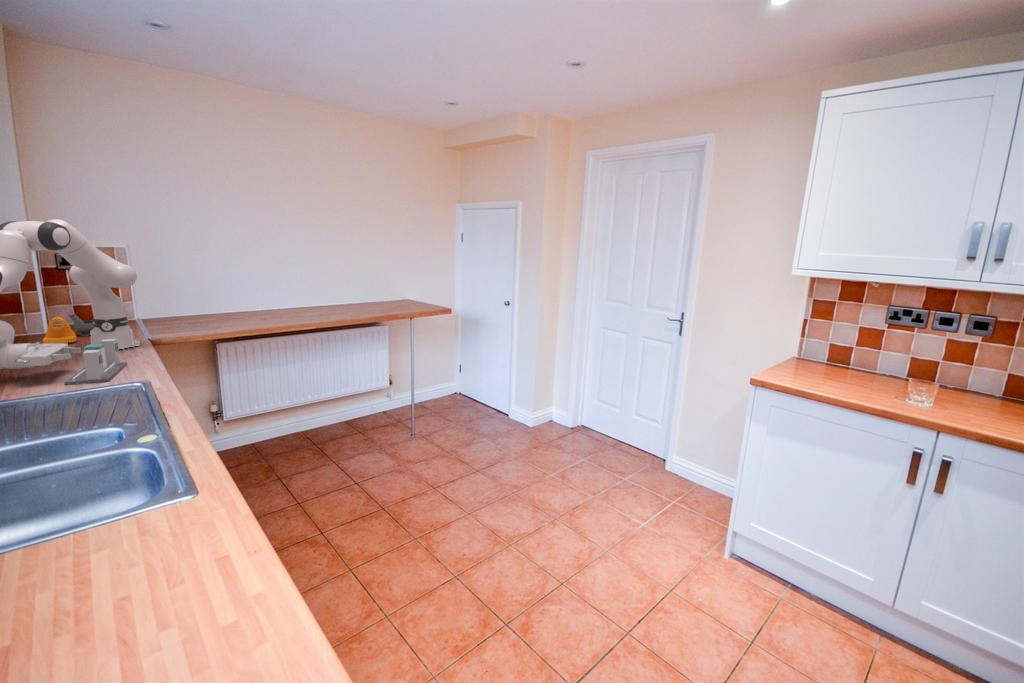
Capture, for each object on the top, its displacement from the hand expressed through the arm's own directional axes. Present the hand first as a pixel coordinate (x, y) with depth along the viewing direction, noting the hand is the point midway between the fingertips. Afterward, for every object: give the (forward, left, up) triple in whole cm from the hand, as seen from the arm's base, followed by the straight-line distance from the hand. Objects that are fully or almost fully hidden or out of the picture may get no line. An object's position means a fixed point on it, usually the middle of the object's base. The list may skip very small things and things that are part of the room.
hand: (76, 353), depth 171 cm
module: (0, +5, -8) cm, 9 cm away
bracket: (-65, -25, -9) cm, 70 cm away
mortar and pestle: (-82, -20, -9) cm, 85 cm away
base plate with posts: (0, +5, -9) cm, 10 cm away
